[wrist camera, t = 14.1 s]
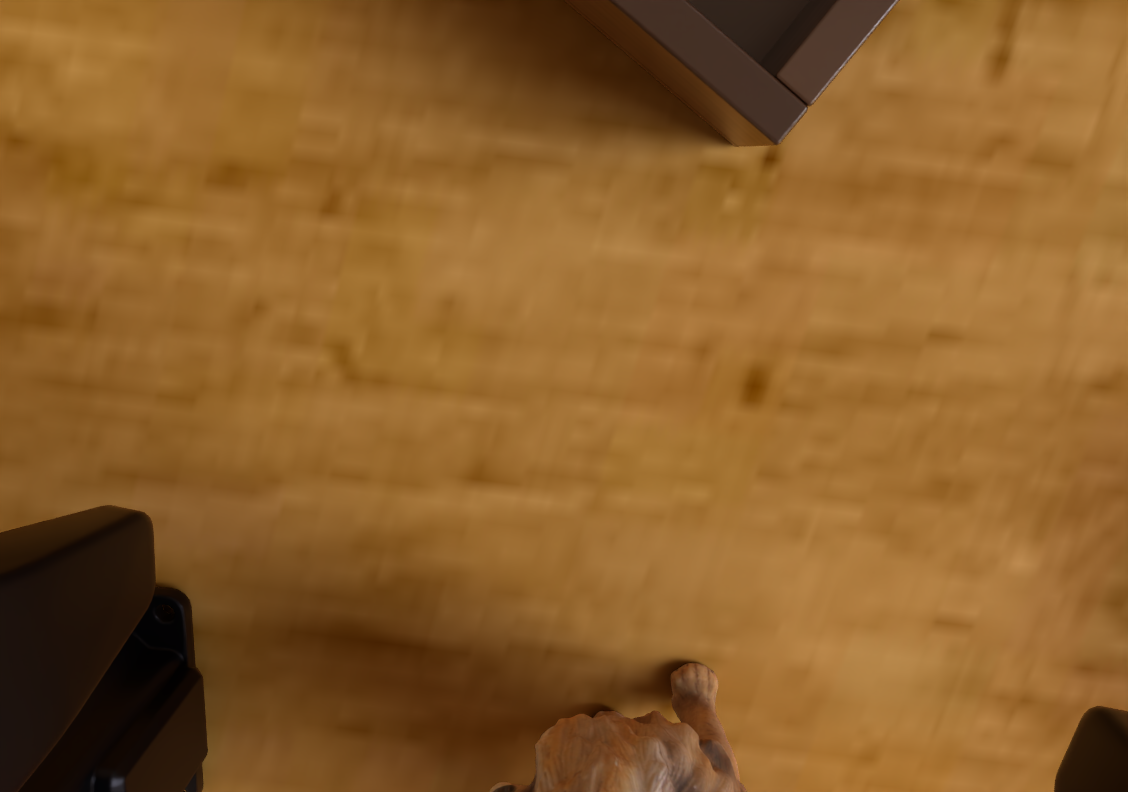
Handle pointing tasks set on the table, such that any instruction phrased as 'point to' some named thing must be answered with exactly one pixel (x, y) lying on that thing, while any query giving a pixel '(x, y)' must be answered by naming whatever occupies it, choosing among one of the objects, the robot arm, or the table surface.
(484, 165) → the table surface
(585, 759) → the lion figurine
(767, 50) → the organiser
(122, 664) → the robot arm
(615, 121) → the table surface
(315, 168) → the table surface
